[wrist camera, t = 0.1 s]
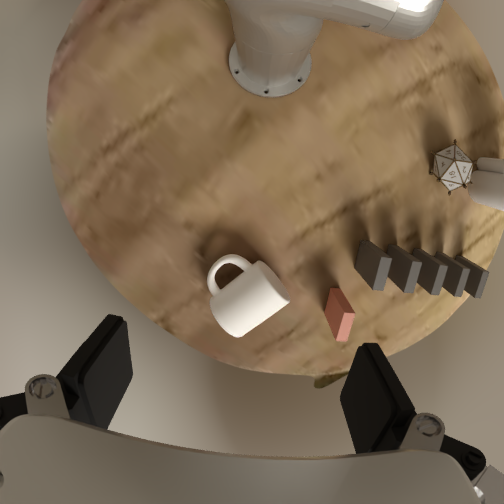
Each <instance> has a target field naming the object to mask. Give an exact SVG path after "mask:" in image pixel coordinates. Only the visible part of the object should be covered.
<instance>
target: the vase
mask: <svg viewBox="0 0 504 504" xmlns="http://www.w3.org/2000/svg"><path fill="white" fill-rule="evenodd" d="M477 168H478V170H476V171H474V172H473V173H472V174H471V178H470V181H471V182H472V183H473V184H470V183H468V191H469V195H470V197H471V199H472V200H473V201H474V202H476V203H479V204H482V205H486V206H489V207H492V208H496V209H499V210H502V211H504V159H497V158H486V157H480V158H479V159H478V161H477Z"/></svg>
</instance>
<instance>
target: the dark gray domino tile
mask: <svg viewBox="0 0 504 504" xmlns="http://www.w3.org/2000/svg"><path fill="white" fill-rule="evenodd" d="M387 255H388V256H390V257H391V258H392V261H391V264H390V268H389V272H388V277H389V278H390V279H391V280H392V281H393V282H394V283H395V284H396V285H397V286H398V287H399V288H400V289H401V290H402V291H403V292H404V293H413V292H414V289H415V286H416V282H417V279H418V275H419V272H420V269H421V265H422V262H421V261H419V260H418V259H416V258H415V257H414V256H412V255H411V254H409V253H408V252H406V251H405V250H403V249H402V248H400V247H399V246H397V245H391V244H389V246H388V250H387Z"/></svg>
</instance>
